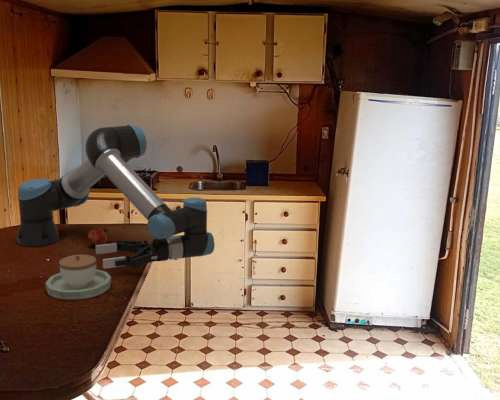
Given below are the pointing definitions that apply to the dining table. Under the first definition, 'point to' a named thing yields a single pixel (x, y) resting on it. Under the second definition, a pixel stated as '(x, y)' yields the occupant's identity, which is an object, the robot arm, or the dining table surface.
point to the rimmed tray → (64, 292)
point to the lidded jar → (78, 270)
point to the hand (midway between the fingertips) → (99, 256)
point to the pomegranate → (98, 236)
